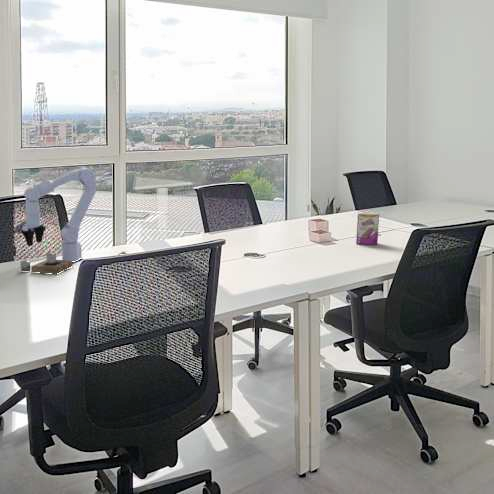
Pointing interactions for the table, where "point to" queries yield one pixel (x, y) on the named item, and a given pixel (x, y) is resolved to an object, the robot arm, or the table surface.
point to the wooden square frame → (51, 267)
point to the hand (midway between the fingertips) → (34, 244)
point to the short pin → (25, 265)
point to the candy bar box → (367, 228)
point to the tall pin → (51, 259)
